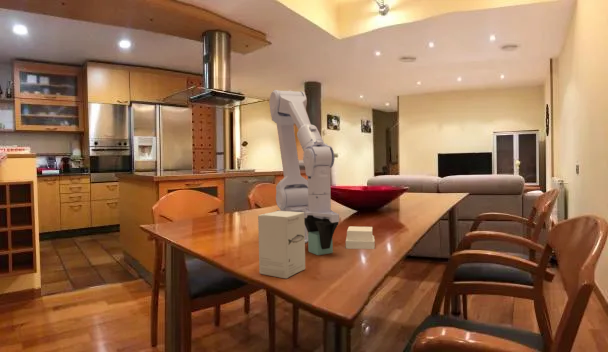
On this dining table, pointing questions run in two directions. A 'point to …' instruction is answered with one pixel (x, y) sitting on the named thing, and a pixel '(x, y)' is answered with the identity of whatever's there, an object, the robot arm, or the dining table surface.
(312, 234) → the teal block
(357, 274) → the dining table surface
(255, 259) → the dining table surface
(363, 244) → the bottom slab
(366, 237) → the top slab
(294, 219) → the supplement box
